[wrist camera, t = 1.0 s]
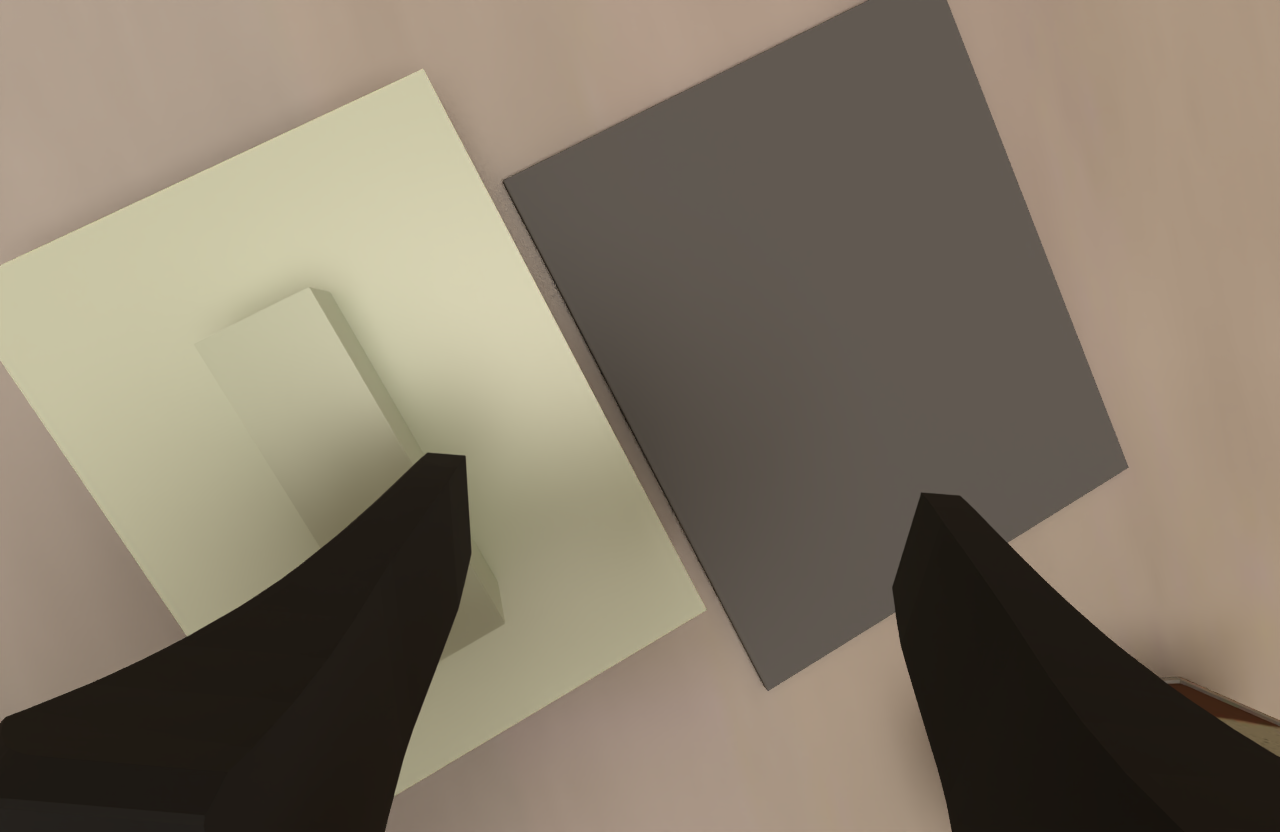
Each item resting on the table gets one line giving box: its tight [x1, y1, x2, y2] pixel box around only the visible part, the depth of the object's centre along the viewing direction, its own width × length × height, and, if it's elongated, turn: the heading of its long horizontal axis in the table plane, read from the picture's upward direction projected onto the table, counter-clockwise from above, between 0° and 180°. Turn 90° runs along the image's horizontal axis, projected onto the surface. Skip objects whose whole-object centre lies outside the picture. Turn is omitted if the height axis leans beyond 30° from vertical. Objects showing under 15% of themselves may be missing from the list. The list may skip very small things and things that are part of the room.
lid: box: [0, 69, 706, 796], centre depth 20 cm, size 11×15×5 cm
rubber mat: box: [503, 0, 1129, 691], centre depth 27 cm, size 15×18×1 cm
